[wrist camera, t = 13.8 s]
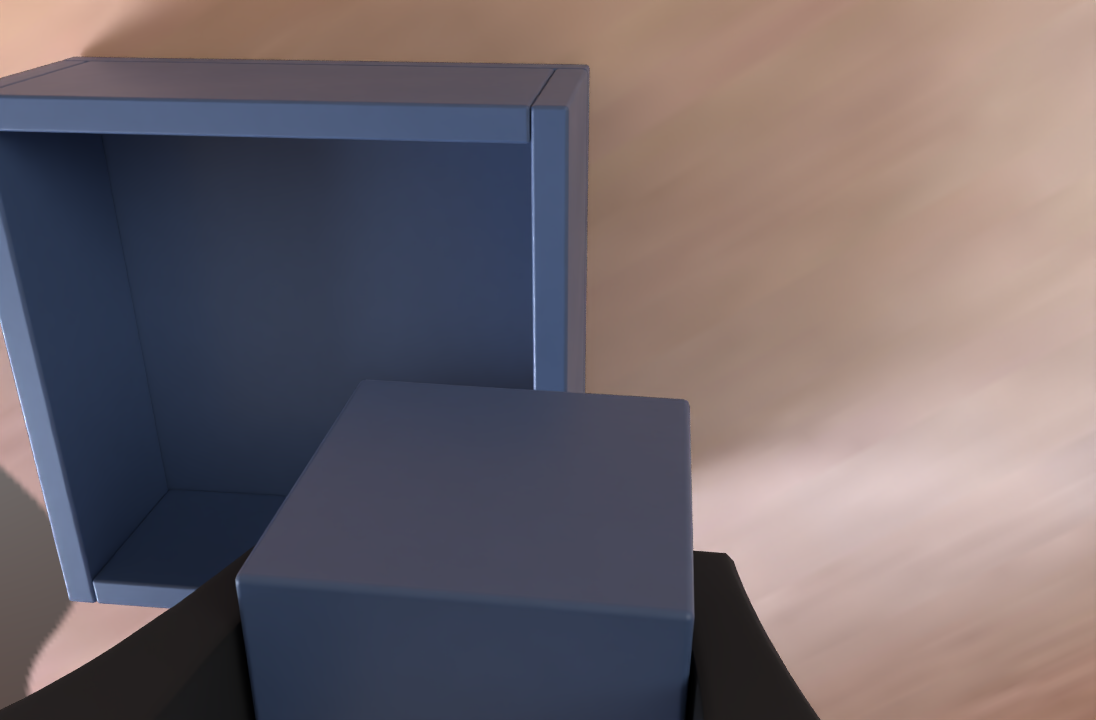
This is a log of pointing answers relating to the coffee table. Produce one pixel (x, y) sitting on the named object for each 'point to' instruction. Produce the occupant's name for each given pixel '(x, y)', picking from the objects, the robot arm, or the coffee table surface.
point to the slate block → (479, 561)
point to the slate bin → (267, 278)
